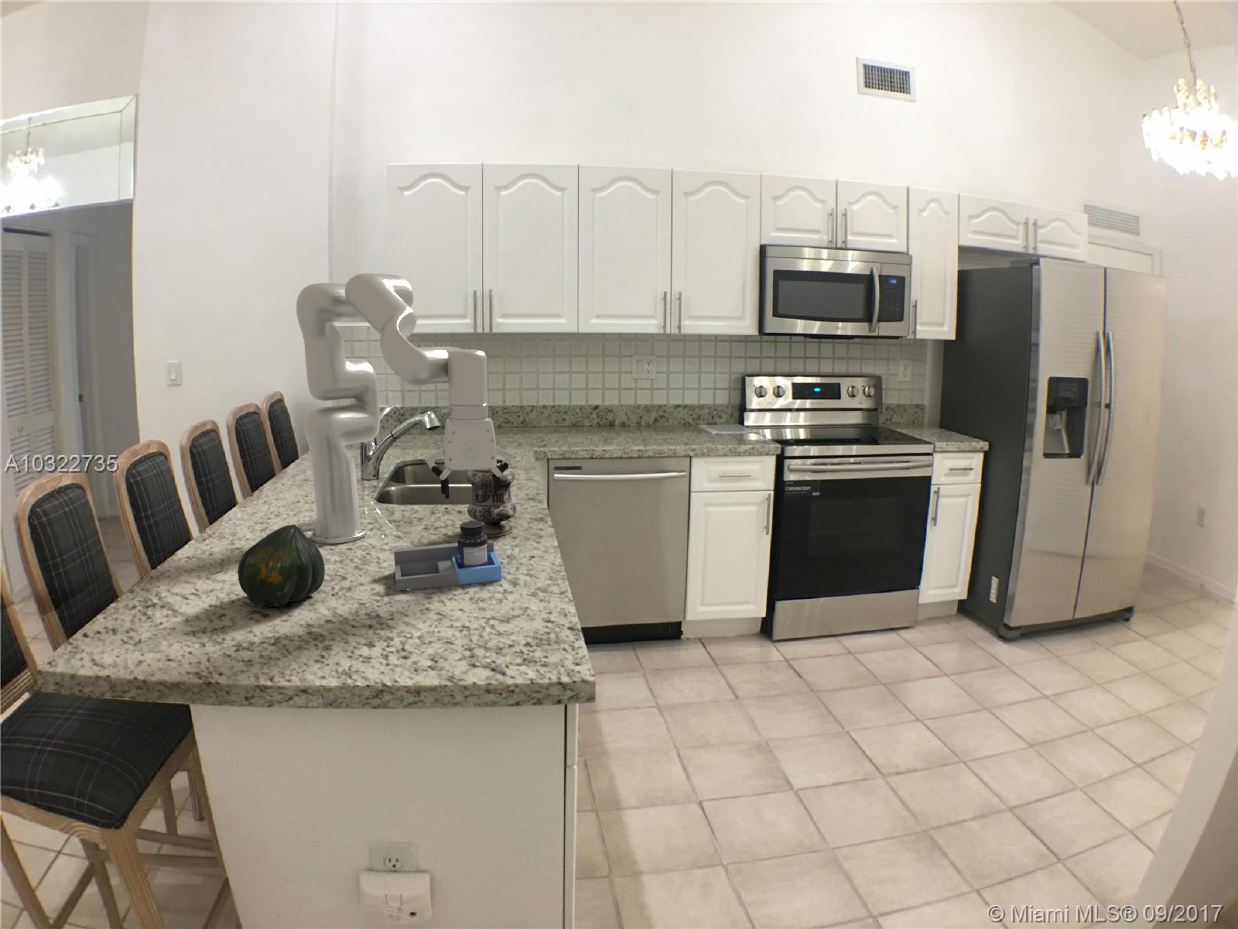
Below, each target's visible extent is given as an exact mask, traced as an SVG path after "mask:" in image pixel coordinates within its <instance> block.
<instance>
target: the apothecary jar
mask: <svg viewBox="0 0 1238 929" xmlns="http://www.w3.org/2000/svg"><path fill="white" fill-rule="evenodd" d="M503 461H504V458H498V457H497V463H496V466H497V467H498V466H499V465H500V464H501V463H502V462H503ZM492 474H493V472H492V470H491V469H487V470H470V471H468V472H467V474H466V481H467V483H469V485H471V502H470V503H469V504H468V506H467V507H466V508H467V509H466V513H467V515H468V516H469V517H470V518H471V519H472V520H473V521H480V522H482V523H483V526H484V529H483V533H484V534H486V536H487V538H494V537H495V538H496V537H503V536H506V535H510V534H511V533H512V532H513V531H514V530H513V527H512V526H511V525H509V524H506V523H503V522H505V521H508V520H509V519H512V518H513V517H514V515H515V514H516V513H517V505H516V503H515V502H514V501H513V500H512V490H511V489H512V488H511V487H512V485H511V484H513V483H514V481H515V479H516V474H515V472H514V470H513V469H512V468H510V466H509V467H508V468H507V469H506V470H505V471H504V472H503V473H502V475H501V476H500V491H497V496H494V495H493V493H492V478H491V475H492Z"/></svg>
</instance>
